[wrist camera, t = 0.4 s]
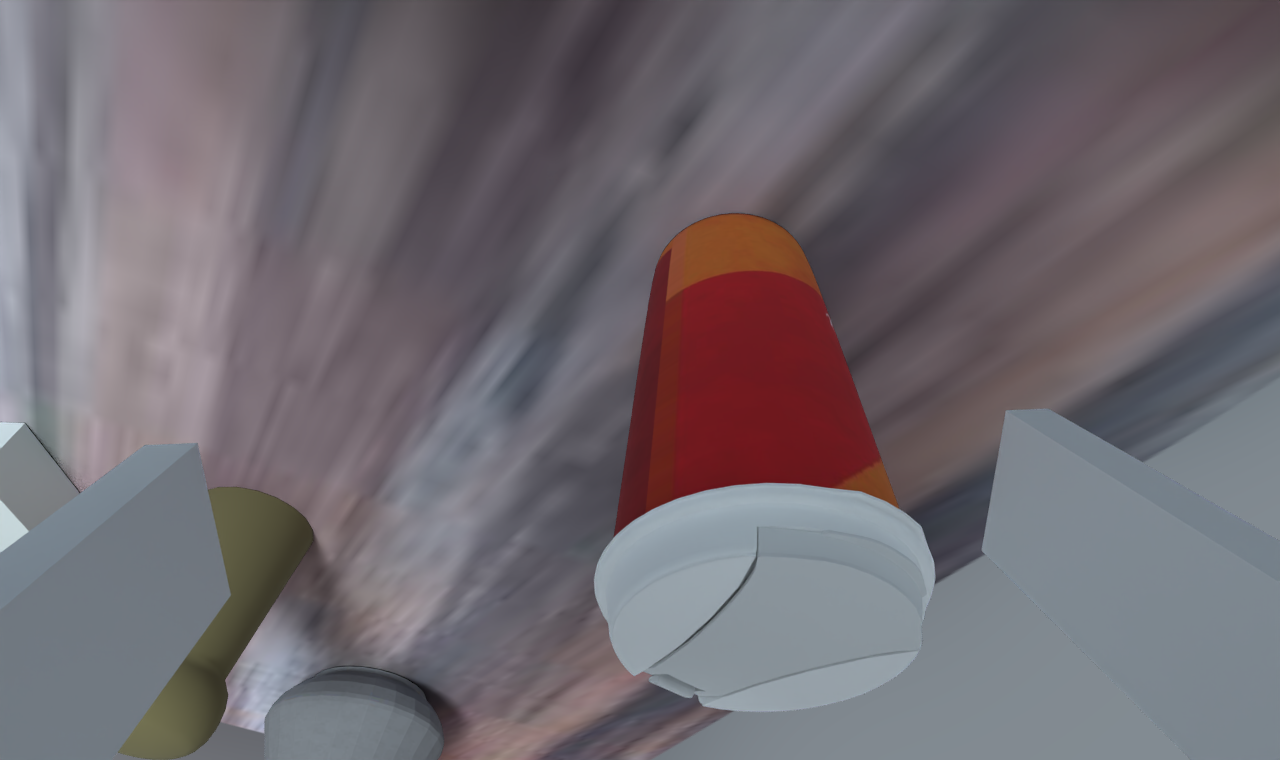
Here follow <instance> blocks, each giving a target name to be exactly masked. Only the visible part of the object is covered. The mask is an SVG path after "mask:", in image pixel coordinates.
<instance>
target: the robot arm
mask: <svg viewBox="0 0 1280 760" xmlns="http://www.w3.org/2000/svg"><path fill="white" fill-rule="evenodd" d="M982 552H983V553H984V554H985V555H986V556H988V558H989V559H990V560H992V561H993V563H994V564H996V566H997V567H998V568H1000V569H1001V571H1002V572H1003V573H1004V574H1005V575H1006V576H1007V577H1008V578H1009V579H1010V580H1011V581H1012V582H1013V583H1014V584H1015V585H1016V586H1017V587H1018V588H1019V589H1020V590H1021V591H1022V592H1023V593H1024V594H1025V595H1026V596H1027V597H1028V598H1029V599H1030V600H1031V601H1032V602H1033V603H1034V604H1035V605H1036V606H1037V607H1038V608H1039V609H1040V610H1041V611H1042V612H1043V613H1044V614H1045V615H1047V617H1048V618H1049V619H1050V620H1051V621H1052V622H1053V623H1055V625H1056V626H1057V627H1058V628H1059V629H1060V630H1061V631H1062V632H1063V633H1064V634H1065V635H1066V636H1067V637H1068V638H1069V639H1070V640H1071V641H1072V642H1073V643H1074V644H1075V645H1076V646H1077V647H1078V648H1079V649H1080V650H1081V651H1082V652H1083V653H1084V654H1085V655H1086V656H1087V657H1088V658H1089V659H1090V660H1091V661H1092V662H1093V663H1094V664H1095V665H1096V666H1097V667H1098V668H1099V669H1100V670H1101V671H1102V672H1103V673H1104V674H1105V675H1106V676H1107V677H1108V678H1109V679H1110V680H1111V681H1112V682H1113V683H1114V684H1115V685H1116V686H1117V687H1118V688H1119V689H1120V690H1121V691H1122V692H1123V693H1124V694H1125V695H1126V696H1127V697H1128V698H1129V699H1130V700H1131V701H1132V702H1133V703H1134V704H1135V705H1136V706H1137V707H1138V708H1139V709H1140V710H1141V711H1142V712H1143V713H1144V714H1145V715H1146V716H1147V717H1148V718H1149V719H1150V720H1151V721H1152V722H1153V723H1154V724H1155V725H1156V726H1157V727H1158V728H1159V729H1160V730H1161V731H1162V732H1163V733H1164V734H1165V735H1166V736H1167V737H1168V738H1169V739H1170V740H1171V741H1172V742H1173V743H1174V744H1175V745H1176V746H1177V747H1178V748H1179V749H1180V750H1181V751H1182V752H1183V753H1184V754H1185V755H1186V756H1187V757H1188V758H1189V759H1190V760H1280V541H1279V540H1278V539H1276V538H1274V537H1272V536H1271V535H1269V534H1267V533H1265V532H1264V531H1262V530H1260V529H1258V528H1257V527H1255V526H1253V525H1251V524H1250V523H1248V522H1246V521H1244V520H1243V519H1241V518H1239V517H1237V516H1236V515H1234V514H1232V513H1230V512H1228V511H1227V510H1225V509H1223V508H1222V507H1220V506H1218V505H1216V504H1215V503H1213V502H1211V501H1209V500H1207V499H1206V498H1204V497H1202V496H1201V495H1199V494H1197V493H1195V492H1193V491H1192V490H1190V489H1188V488H1186V487H1185V486H1183V485H1181V484H1179V483H1178V482H1176V481H1174V480H1172V479H1171V478H1169V477H1167V476H1165V475H1164V474H1162V473H1160V472H1158V471H1157V470H1155V469H1153V468H1151V467H1150V466H1148V465H1146V464H1144V463H1143V462H1141V461H1139V460H1137V459H1136V458H1134V457H1132V456H1130V455H1129V454H1127V453H1125V452H1123V451H1122V450H1120V449H1118V448H1116V447H1115V446H1113V445H1111V444H1109V443H1108V442H1106V441H1104V440H1102V439H1101V438H1099V437H1097V436H1095V435H1094V434H1092V433H1090V432H1088V431H1087V430H1085V429H1083V428H1081V427H1080V426H1078V425H1076V424H1074V423H1073V422H1071V421H1069V420H1067V419H1066V418H1064V417H1062V416H1060V415H1058V414H1057V413H1055V412H1053V411H1051V410H1050V409H1027V410H1006V413H1005V419H1004V424H1003V430H1002V436H1001V442H1000V447H999V453H998V459H997V465H996V471H995V476H994V482H993V488H992V494H991V499H990V505H989V511H988V517H987V522H986V528H985V534H984V540H983V545H982ZM230 596H231V593H230V589H229V584H228V579H227V575H226V570H225V566H224V561H223V557H222V552H221V548H220V543H219V539H218V534H217V529H216V525H215V520H214V516H213V511H212V507H211V502H210V498H209V493H208V489H207V484H206V479H205V475H204V470H203V466H202V461H201V457H200V452H199V448H198V443H187V444H162V445H144V446H143V447H142V448H140V449H139V450H138V451H136V452H135V453H134V454H132V455H131V456H130V457H128V458H127V459H126V460H124V461H123V462H122V463H120V464H119V465H118V466H116V467H115V468H114V469H112V470H111V471H110V472H108V473H107V474H105V475H104V476H103V477H101V478H100V479H99V480H97V481H96V482H95V483H93V484H92V485H91V486H89V487H88V488H87V489H85V490H84V491H83V492H81V493H80V494H79V495H77V496H76V497H75V498H73V499H72V500H71V501H69V502H68V503H67V504H65V505H64V506H63V507H61V508H60V509H58V510H57V511H56V512H54V513H53V514H52V515H50V516H49V517H48V518H46V519H45V520H44V521H42V522H41V523H40V524H38V525H37V526H36V527H34V528H33V529H32V530H30V531H29V532H28V533H26V534H25V535H24V536H22V537H21V538H20V539H18V540H17V541H15V542H14V543H13V544H11V545H10V546H9V547H7V548H6V549H5V550H3V551H2V552H1V553H0V760H112V759H113V758H114V757H115V755H116V754H117V752H118V751H119V750H120V748H121V747H122V745H123V744H124V743H125V741H126V740H127V739H128V737H129V736H130V734H131V733H132V732H133V730H134V729H135V727H136V726H137V725H138V723H139V722H140V721H141V719H142V718H143V716H144V715H145V714H146V712H147V711H148V709H149V708H150V707H151V705H152V704H153V702H154V701H155V700H156V698H157V697H158V696H159V694H160V693H161V691H162V690H163V689H164V687H165V686H166V684H167V683H168V682H169V680H170V679H171V678H172V676H173V675H174V673H175V672H176V671H177V669H178V668H179V666H180V665H181V664H182V662H183V661H184V660H185V658H186V657H187V655H188V654H189V653H190V651H191V650H192V648H193V647H194V646H195V644H196V643H197V641H198V640H199V639H200V637H201V636H202V635H203V633H204V632H205V630H206V629H207V628H208V626H209V625H210V623H211V622H212V621H213V619H214V618H215V617H216V615H217V614H218V612H219V611H220V610H221V608H222V607H223V605H224V604H225V603H226V601H227V600H228V599H229V597H230Z"/></svg>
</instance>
